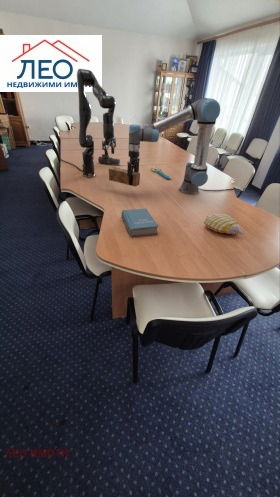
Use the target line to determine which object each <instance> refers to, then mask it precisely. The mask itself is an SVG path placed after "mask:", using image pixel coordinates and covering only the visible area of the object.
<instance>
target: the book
mask: <svg viewBox="0 0 280 497" xmlns="http://www.w3.org/2000/svg"><path fill="white" fill-rule="evenodd" d="M121 218H122V220H123V222H124V224H125V225H124V226H125V227H126V229H127V231H128V233H129V236H131V237H139V236H149V235H157V234H158V228H159V225H158V224H157V222H156V221H155V218H154V217H153V216H152V215H151V212H149V211H148V208H147V207H146V208H134V209H133V208H132V209H123V210H122V211H121Z"/></svg>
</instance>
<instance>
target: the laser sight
mask: <svg viewBox="0 0 280 497" xmlns="http://www.w3.org/2000/svg"><path fill="white" fill-rule="evenodd" d="M97 161H98V163H99V164H103V165H104V164H105V165H110V166H112V165H116V166H119V165H120V163H121V159H119V158H113V157H110V155H108V156H105V153H101V156H98V159H97Z"/></svg>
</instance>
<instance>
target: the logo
mask: <svg viewBox="0 0 280 497" xmlns="http://www.w3.org/2000/svg"><path fill="white" fill-rule="evenodd" d="M150 170H151V171H152V172H154V173H157V174H158V175H160V176H161V177H163V178H164V179H166V180H172V178H171V177H170V176H169V175H166V174H164V172H162V171H161V168H158V167H150Z"/></svg>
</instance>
